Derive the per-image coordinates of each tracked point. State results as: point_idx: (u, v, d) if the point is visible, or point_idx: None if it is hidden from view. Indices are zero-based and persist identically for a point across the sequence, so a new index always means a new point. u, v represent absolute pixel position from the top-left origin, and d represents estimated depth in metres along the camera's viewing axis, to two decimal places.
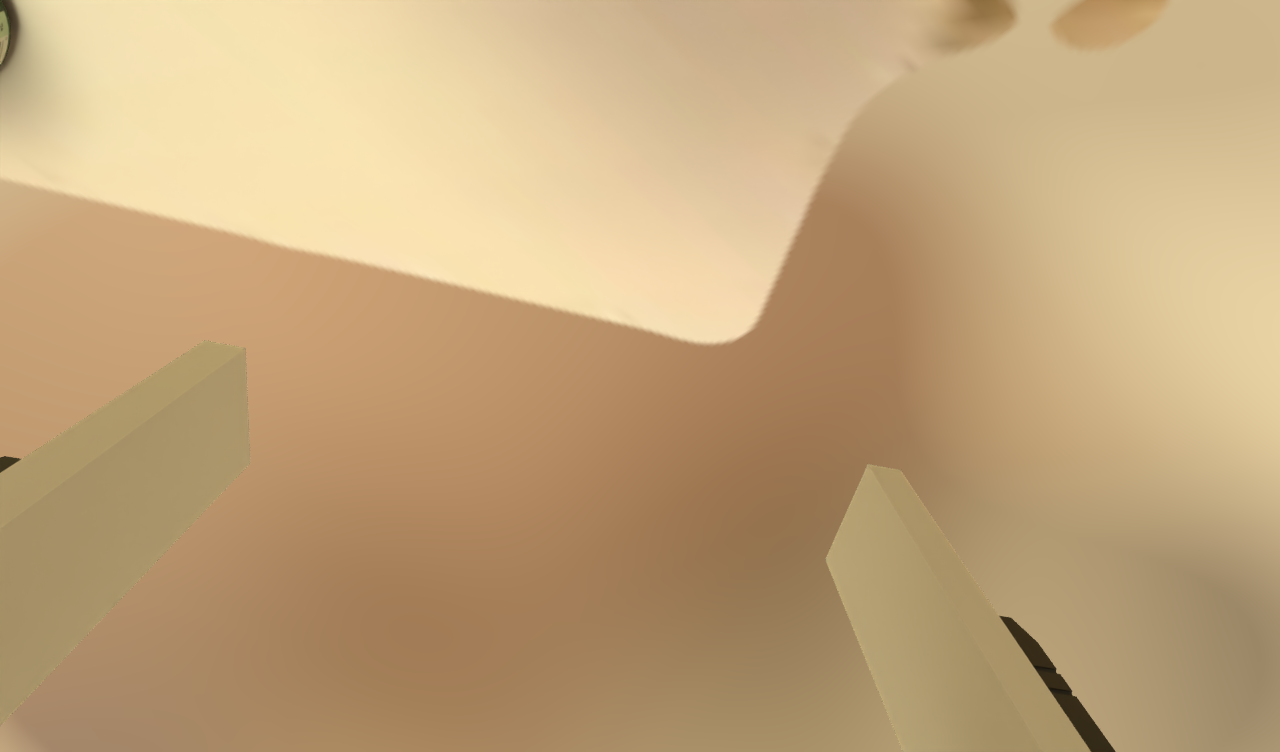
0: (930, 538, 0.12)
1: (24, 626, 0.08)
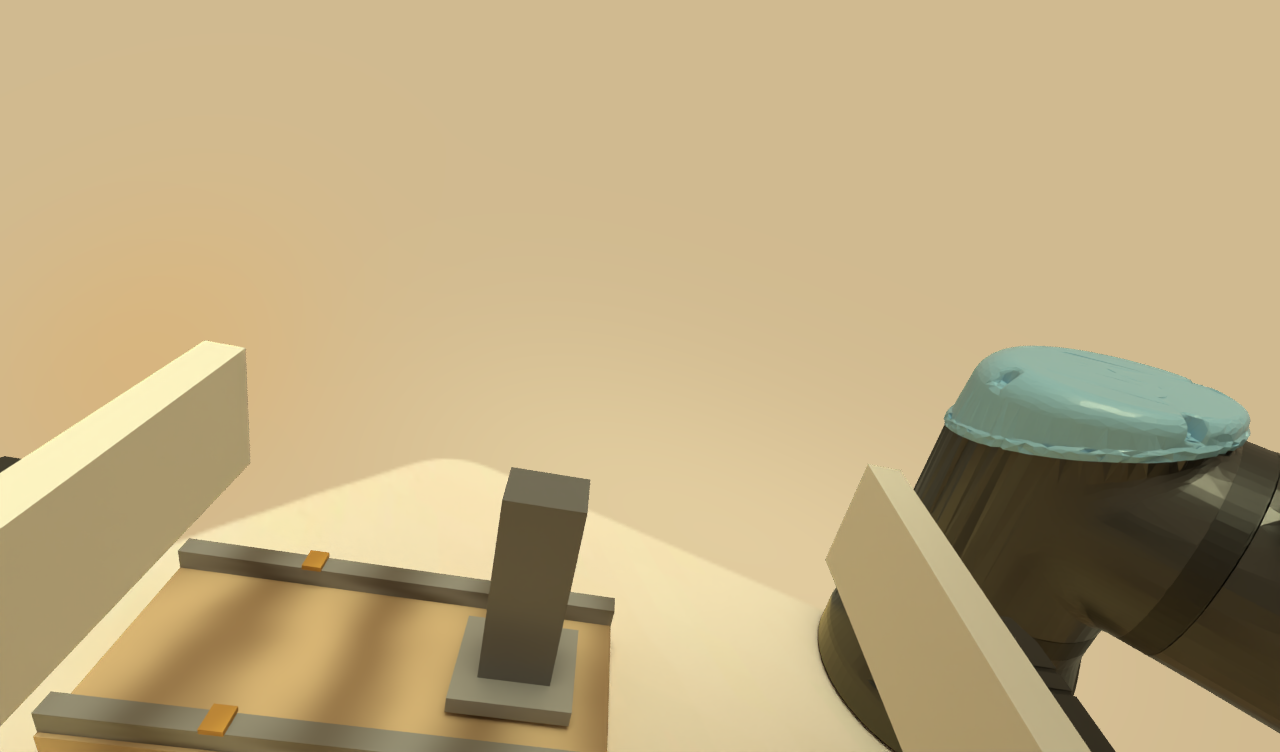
0: (930, 538, 0.12)
1: (24, 626, 0.08)
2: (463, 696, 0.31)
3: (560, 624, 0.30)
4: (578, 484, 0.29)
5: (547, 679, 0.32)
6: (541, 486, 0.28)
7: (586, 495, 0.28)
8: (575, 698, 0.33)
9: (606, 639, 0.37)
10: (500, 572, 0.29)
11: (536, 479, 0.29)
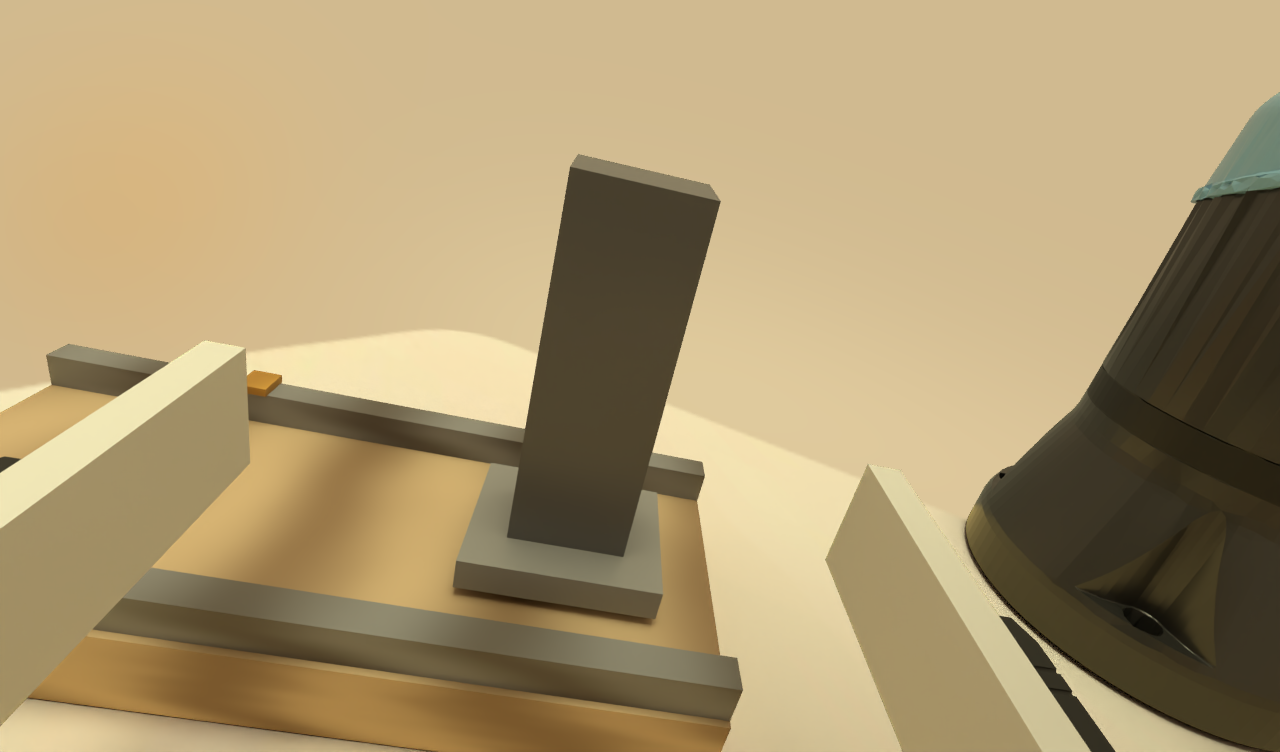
0: (930, 538, 0.12)
1: (24, 625, 0.08)
2: (485, 560, 0.18)
3: (651, 438, 0.18)
4: (693, 183, 0.17)
5: (620, 544, 0.20)
6: (633, 172, 0.16)
7: (710, 191, 0.16)
8: None
9: (693, 515, 0.25)
10: (556, 329, 0.17)
11: (622, 167, 0.17)
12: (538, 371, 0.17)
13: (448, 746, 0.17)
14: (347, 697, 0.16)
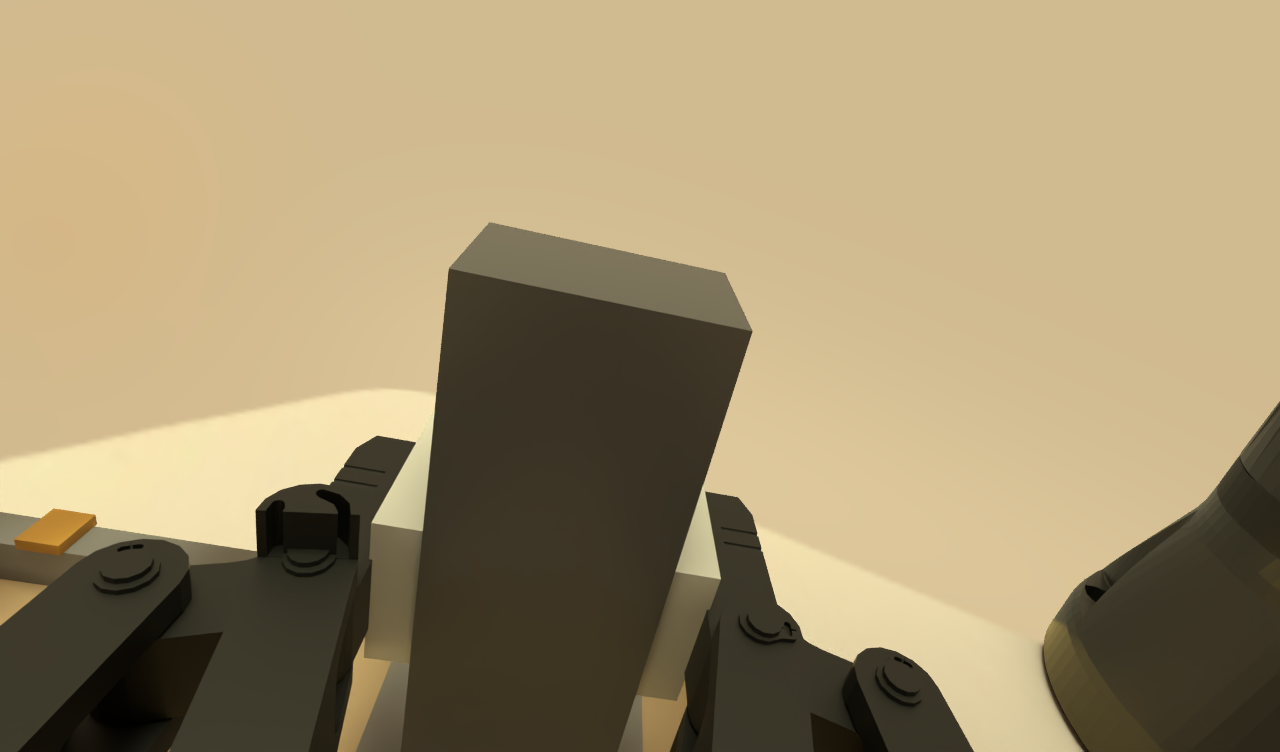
0: None
1: None
2: None
3: (625, 703, 0.10)
4: (695, 275, 0.09)
5: None
6: (585, 262, 0.09)
7: (729, 297, 0.09)
8: None
9: None
10: (447, 547, 0.09)
11: (567, 250, 0.09)
12: (421, 610, 0.10)
13: None
14: None
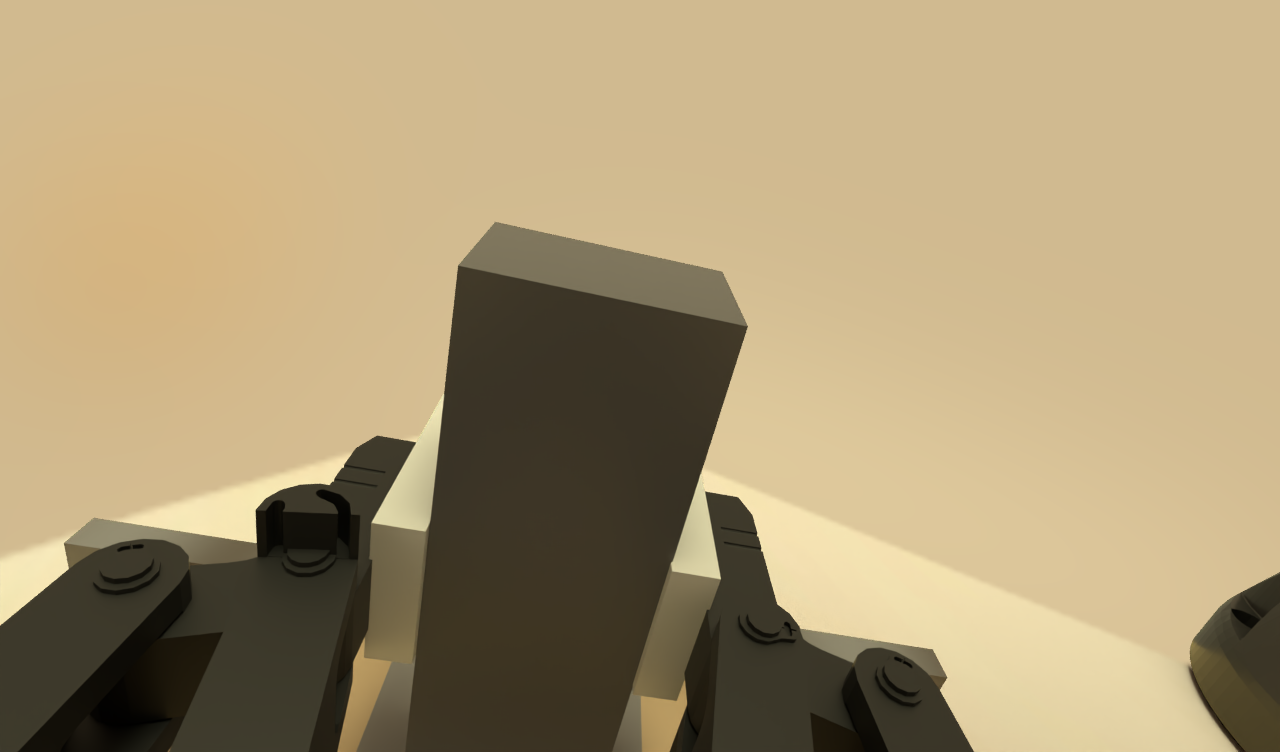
0: None
1: None
2: None
3: (624, 687, 0.11)
4: (693, 273, 0.10)
5: None
6: (588, 261, 0.09)
7: (726, 294, 0.09)
8: None
9: None
10: (453, 534, 0.09)
11: (570, 249, 0.09)
12: (428, 596, 0.10)
13: None
14: None
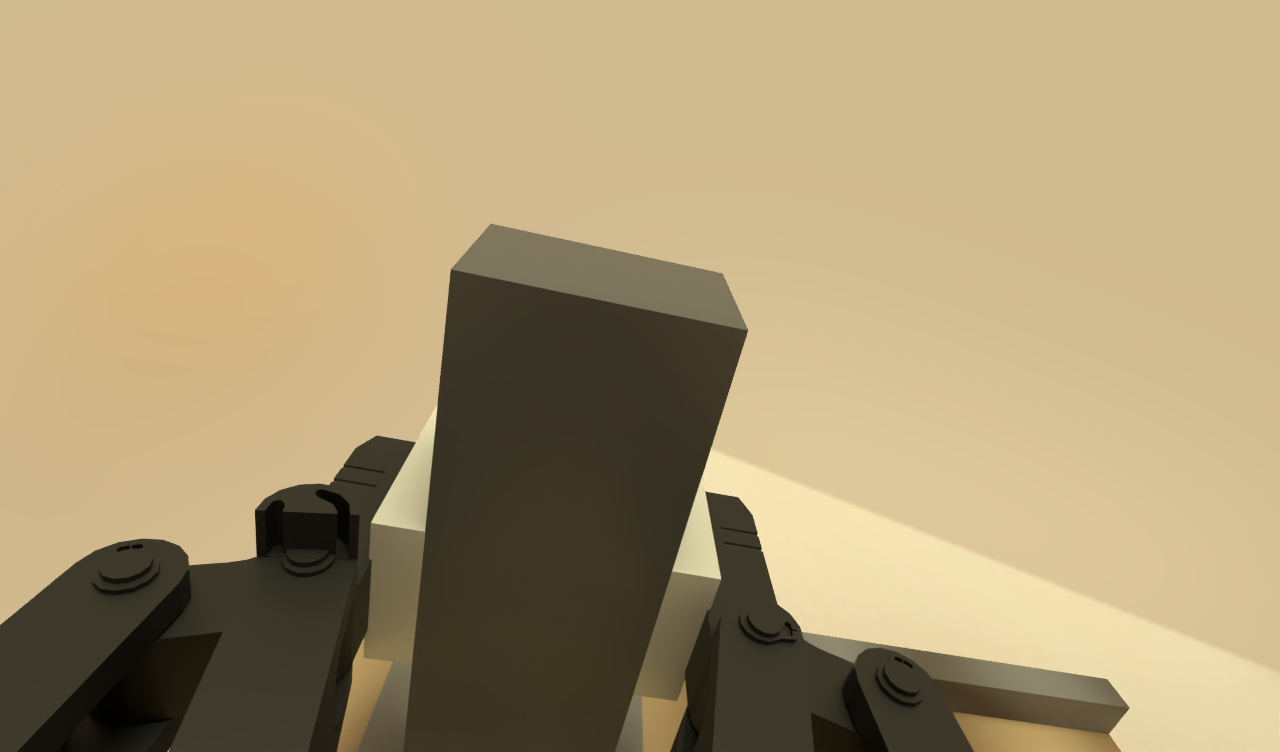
0: None
1: None
2: None
3: (624, 696, 0.11)
4: (693, 275, 0.10)
5: None
6: (584, 263, 0.09)
7: (726, 296, 0.09)
8: None
9: None
10: (449, 542, 0.09)
11: (566, 251, 0.09)
12: (423, 605, 0.10)
13: None
14: None
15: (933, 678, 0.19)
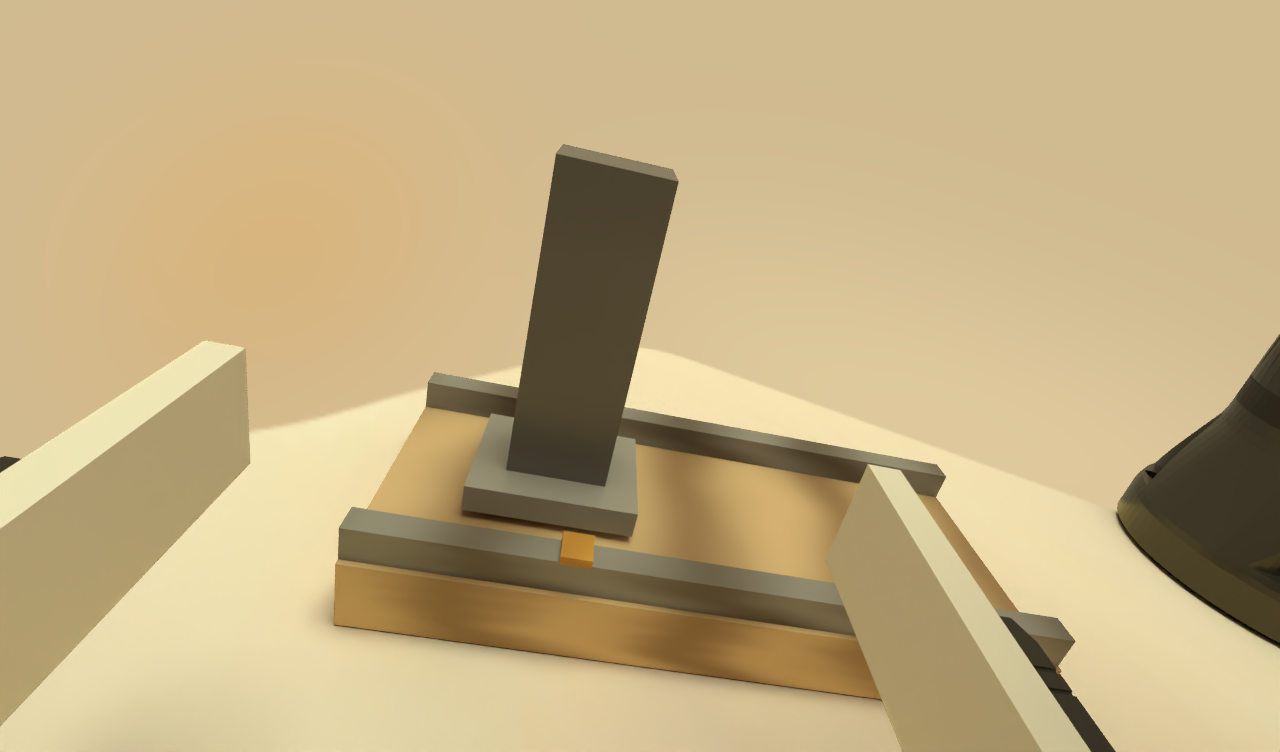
0: (930, 538, 0.12)
1: (24, 626, 0.08)
2: (488, 486, 0.22)
3: (626, 381, 0.22)
4: (657, 167, 0.20)
5: (602, 475, 0.23)
6: (608, 158, 0.20)
7: (672, 174, 0.20)
8: None
9: (940, 509, 0.30)
10: (546, 288, 0.20)
11: (599, 155, 0.20)
12: (531, 324, 0.21)
13: (843, 687, 0.22)
14: (781, 649, 0.21)
15: (819, 453, 0.30)
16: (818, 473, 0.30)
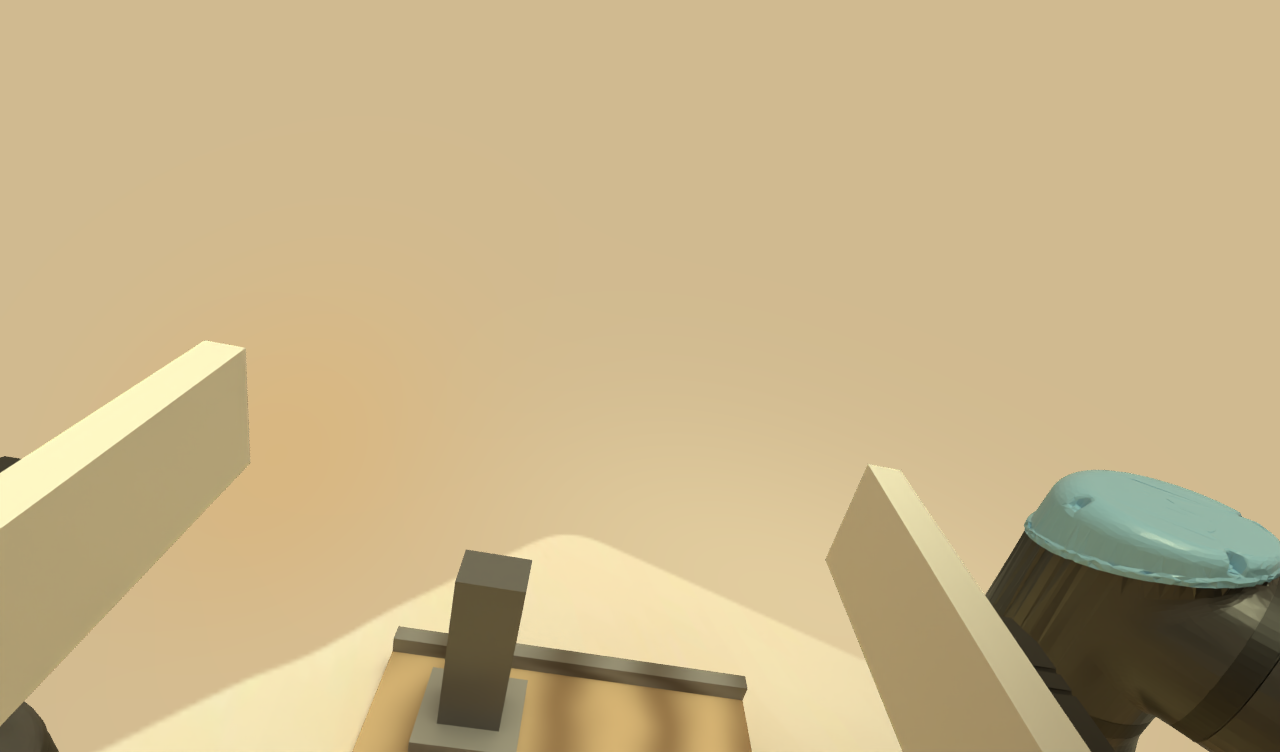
0: (930, 538, 0.12)
1: (24, 626, 0.08)
2: (423, 740, 0.36)
3: (506, 680, 0.36)
4: (521, 564, 0.35)
5: (496, 725, 0.38)
6: (490, 567, 0.34)
7: (527, 575, 0.34)
8: None
9: (741, 713, 0.44)
10: (454, 638, 0.34)
11: (486, 561, 0.34)
12: (447, 654, 0.35)
13: None
14: None
15: (658, 675, 0.44)
16: (659, 687, 0.44)
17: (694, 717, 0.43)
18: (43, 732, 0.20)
